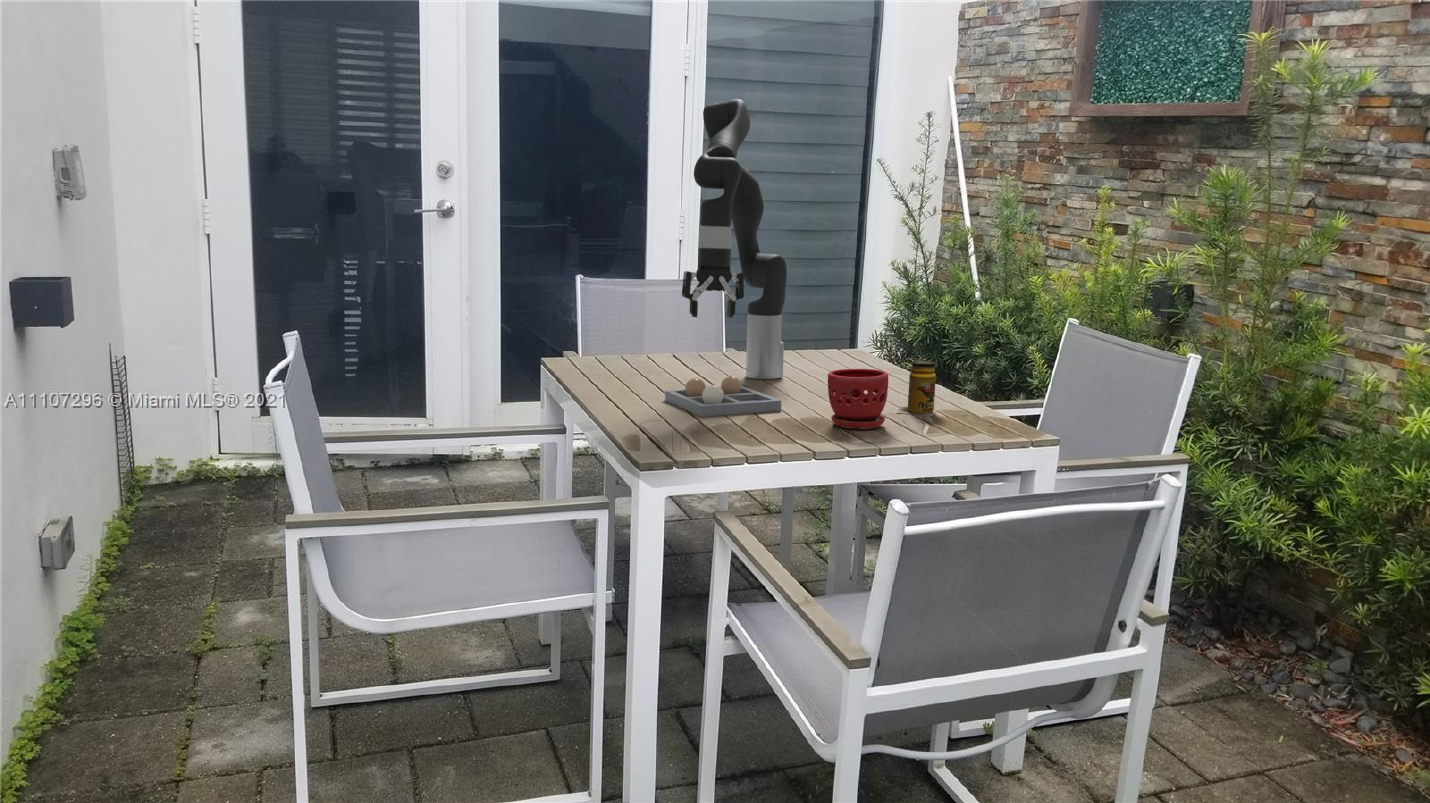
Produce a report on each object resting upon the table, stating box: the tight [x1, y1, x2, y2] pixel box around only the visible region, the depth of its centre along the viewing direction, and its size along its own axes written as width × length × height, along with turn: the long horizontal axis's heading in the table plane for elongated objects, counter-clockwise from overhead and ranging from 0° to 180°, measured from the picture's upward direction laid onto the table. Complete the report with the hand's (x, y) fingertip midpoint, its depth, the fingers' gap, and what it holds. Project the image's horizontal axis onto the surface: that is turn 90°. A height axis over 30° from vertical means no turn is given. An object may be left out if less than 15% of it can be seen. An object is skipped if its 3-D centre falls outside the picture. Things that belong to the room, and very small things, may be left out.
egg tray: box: [664, 385, 782, 418], centre depth 263 cm, size 20×20×2 cm
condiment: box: [896, 359, 937, 417], centre depth 260 cm, size 7×8×12 cm
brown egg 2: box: [720, 375, 743, 395], centre depth 269 cm, size 5×5×5 cm
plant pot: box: [827, 368, 889, 430], centre depth 244 cm, size 13×13×12 cm
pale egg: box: [702, 384, 724, 404], centre depth 257 cm, size 5×5×5 cm
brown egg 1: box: [684, 377, 707, 397], centre depth 265 cm, size 5×5×5 cm
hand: (712, 317), depth 258 cm, fingers open, 8 cm apart
